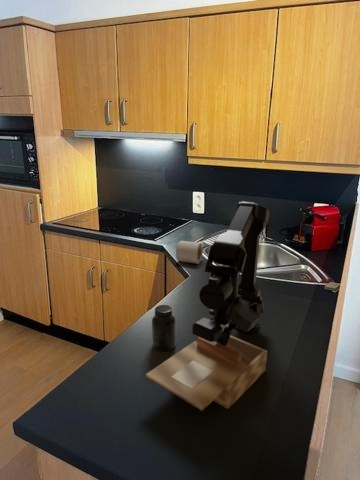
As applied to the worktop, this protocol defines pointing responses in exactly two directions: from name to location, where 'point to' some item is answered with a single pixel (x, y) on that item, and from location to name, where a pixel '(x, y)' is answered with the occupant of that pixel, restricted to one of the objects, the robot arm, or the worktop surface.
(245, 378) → the mailer box
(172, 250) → the worktop surface
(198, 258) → the toilet paper
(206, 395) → the mailer lid
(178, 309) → the worktop surface
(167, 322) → the supplement bottle
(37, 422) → the worktop surface
